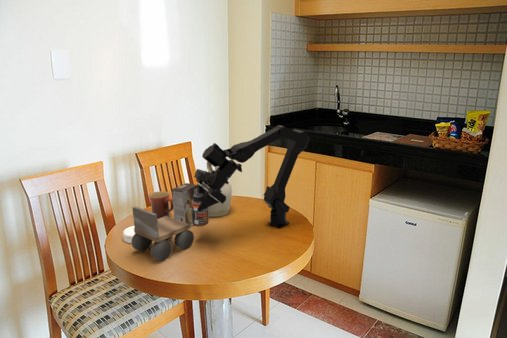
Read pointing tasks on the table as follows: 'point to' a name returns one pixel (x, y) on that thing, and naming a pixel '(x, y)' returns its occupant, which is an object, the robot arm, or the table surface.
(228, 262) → the table surface
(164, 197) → the mug
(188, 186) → the coffee box
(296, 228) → the table surface
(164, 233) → the trolley
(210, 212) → the jug
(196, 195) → the supplement bottle
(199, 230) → the table surface
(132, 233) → the coaster
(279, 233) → the table surface
